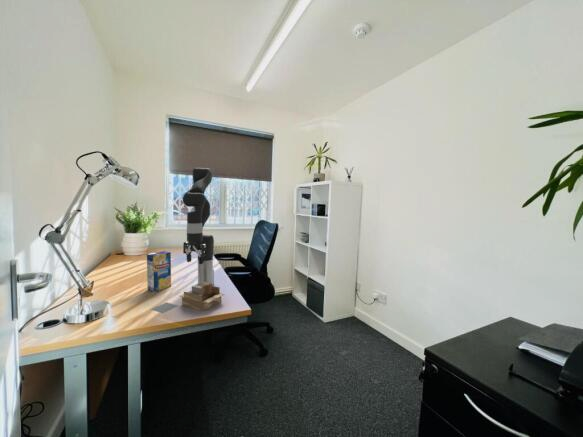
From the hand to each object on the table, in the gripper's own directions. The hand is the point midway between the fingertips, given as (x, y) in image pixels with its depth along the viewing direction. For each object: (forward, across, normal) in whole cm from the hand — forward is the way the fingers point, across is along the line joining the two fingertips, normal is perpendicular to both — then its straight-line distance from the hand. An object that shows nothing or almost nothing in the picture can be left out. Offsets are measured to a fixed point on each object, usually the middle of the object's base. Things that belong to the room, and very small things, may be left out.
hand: (195, 262), depth 119 cm
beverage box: (+23, +39, -7) cm, 46 cm away
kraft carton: (+23, -2, -2) cm, 23 cm away
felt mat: (+23, +10, +10) cm, 27 cm away
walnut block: (+22, -2, -2) cm, 22 cm away
